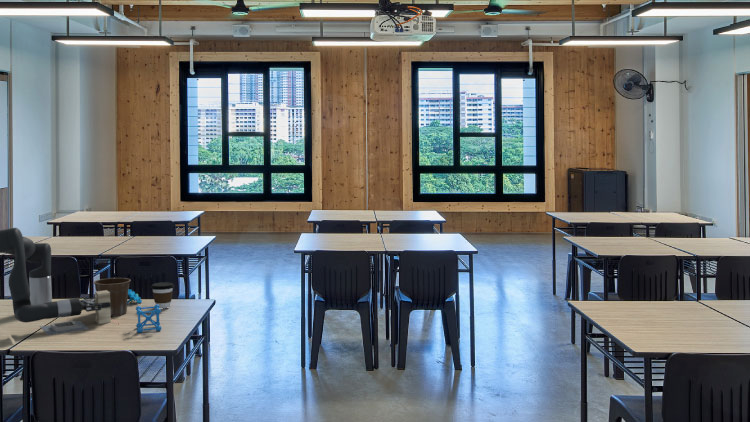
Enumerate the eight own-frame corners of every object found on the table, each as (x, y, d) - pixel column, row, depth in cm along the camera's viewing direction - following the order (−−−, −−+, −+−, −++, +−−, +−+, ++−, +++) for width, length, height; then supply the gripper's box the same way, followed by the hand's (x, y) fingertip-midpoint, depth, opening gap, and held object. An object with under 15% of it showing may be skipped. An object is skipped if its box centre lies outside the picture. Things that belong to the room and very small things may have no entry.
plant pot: (110, 308, 305) (109, 276, 304) (138, 311, 301) (137, 278, 300) (86, 316, 290) (85, 282, 288) (116, 319, 286) (115, 285, 284)
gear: (138, 302, 311) (125, 288, 311) (130, 311, 311) (116, 296, 311) (146, 300, 322) (132, 287, 322) (137, 308, 322) (124, 295, 322)
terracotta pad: (87, 322, 279) (87, 321, 279) (110, 319, 285) (110, 318, 285) (95, 328, 270) (95, 327, 270) (119, 324, 276) (119, 323, 276)
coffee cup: (165, 304, 315) (165, 281, 314) (179, 307, 309) (178, 283, 308) (146, 308, 306) (146, 284, 305) (160, 311, 300) (159, 287, 299)
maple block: (95, 322, 278) (95, 291, 277) (107, 320, 281) (106, 290, 280) (99, 324, 274) (98, 293, 273) (110, 322, 277) (110, 292, 276)
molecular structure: (136, 327, 272) (135, 305, 271) (159, 325, 276) (159, 303, 275) (137, 333, 263) (136, 310, 262) (161, 331, 267) (161, 308, 266)
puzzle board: (40, 329, 268) (39, 323, 268) (79, 323, 279) (79, 317, 278) (48, 337, 256) (48, 331, 256) (89, 330, 266) (89, 325, 266)
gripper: (72, 302, 262) (111, 297, 272) (63, 296, 273) (102, 291, 283) (72, 319, 262) (112, 313, 273) (64, 313, 273) (102, 307, 284)
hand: (107, 302), depth 278 cm, fingers open, 8 cm apart
